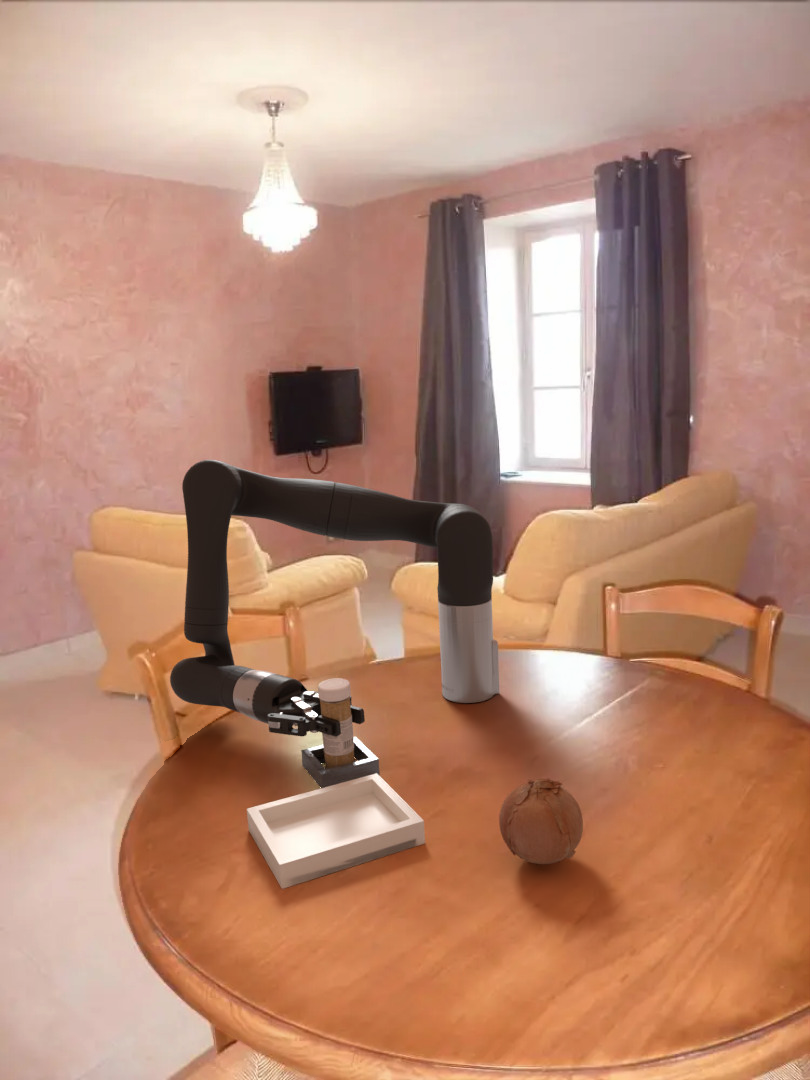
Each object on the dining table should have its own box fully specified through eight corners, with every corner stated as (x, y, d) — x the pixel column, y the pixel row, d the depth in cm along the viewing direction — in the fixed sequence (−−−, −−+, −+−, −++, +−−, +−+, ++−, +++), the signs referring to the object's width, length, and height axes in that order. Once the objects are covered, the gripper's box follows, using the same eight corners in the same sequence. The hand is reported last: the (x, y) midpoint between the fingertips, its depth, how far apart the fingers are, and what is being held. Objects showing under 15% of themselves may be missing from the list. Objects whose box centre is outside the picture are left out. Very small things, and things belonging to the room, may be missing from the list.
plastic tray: (378, 793, 112) (376, 773, 112) (425, 843, 100) (423, 820, 99) (248, 830, 105) (246, 808, 104) (281, 889, 93) (279, 864, 92)
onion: (549, 829, 102) (547, 754, 100) (601, 867, 93) (600, 786, 91) (484, 853, 97) (481, 775, 95) (533, 895, 89) (531, 810, 87)
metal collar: (356, 751, 125) (355, 736, 125) (379, 775, 118) (378, 758, 117) (302, 765, 122) (301, 750, 121) (322, 790, 114) (321, 774, 114)
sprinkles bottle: (344, 760, 123) (337, 674, 120) (362, 770, 119) (356, 682, 117) (318, 770, 120) (311, 683, 117) (336, 781, 116) (329, 691, 114)
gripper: (230, 689, 121) (312, 715, 110) (301, 660, 132) (382, 681, 121) (235, 737, 122) (317, 767, 112) (304, 705, 133) (385, 729, 122)
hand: (350, 722), depth 116 cm, fingers closed on sprinkles bottle, 4 cm apart
